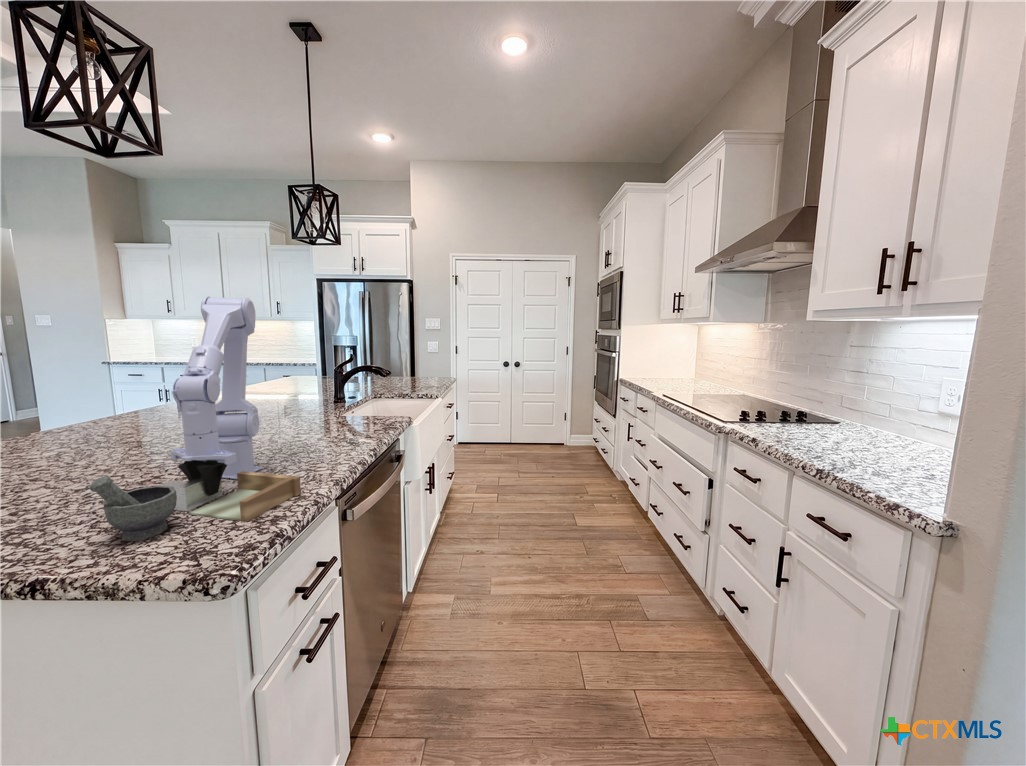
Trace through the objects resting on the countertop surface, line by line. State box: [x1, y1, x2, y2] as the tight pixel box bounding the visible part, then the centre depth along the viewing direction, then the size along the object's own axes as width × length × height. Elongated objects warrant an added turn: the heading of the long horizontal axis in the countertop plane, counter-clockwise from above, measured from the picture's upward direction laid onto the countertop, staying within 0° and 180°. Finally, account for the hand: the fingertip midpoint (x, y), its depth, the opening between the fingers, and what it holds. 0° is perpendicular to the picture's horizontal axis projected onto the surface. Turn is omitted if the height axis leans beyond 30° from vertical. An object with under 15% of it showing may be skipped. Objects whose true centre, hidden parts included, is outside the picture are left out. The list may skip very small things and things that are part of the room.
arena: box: [188, 471, 302, 523], centre depth 84 cm, size 15×14×4 cm
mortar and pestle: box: [89, 475, 177, 542], centre depth 71 cm, size 11×9×12 cm
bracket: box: [158, 477, 224, 512], centre depth 85 cm, size 8×6×5 cm
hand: (206, 493), depth 86 cm, fingers open, 2 cm apart
